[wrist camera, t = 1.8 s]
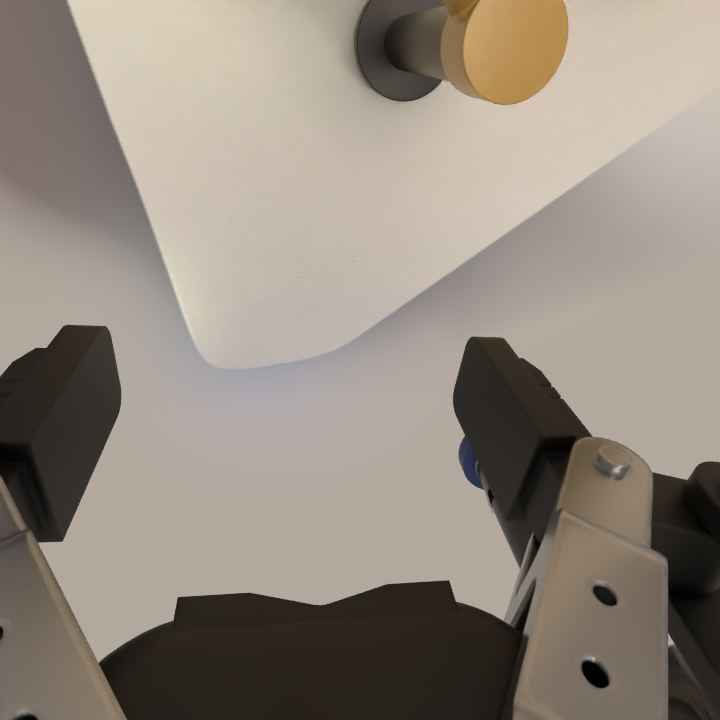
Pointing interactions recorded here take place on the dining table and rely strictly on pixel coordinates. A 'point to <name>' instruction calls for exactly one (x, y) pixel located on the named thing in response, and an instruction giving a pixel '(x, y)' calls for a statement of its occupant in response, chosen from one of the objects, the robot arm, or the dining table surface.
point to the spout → (503, 47)
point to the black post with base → (401, 47)
